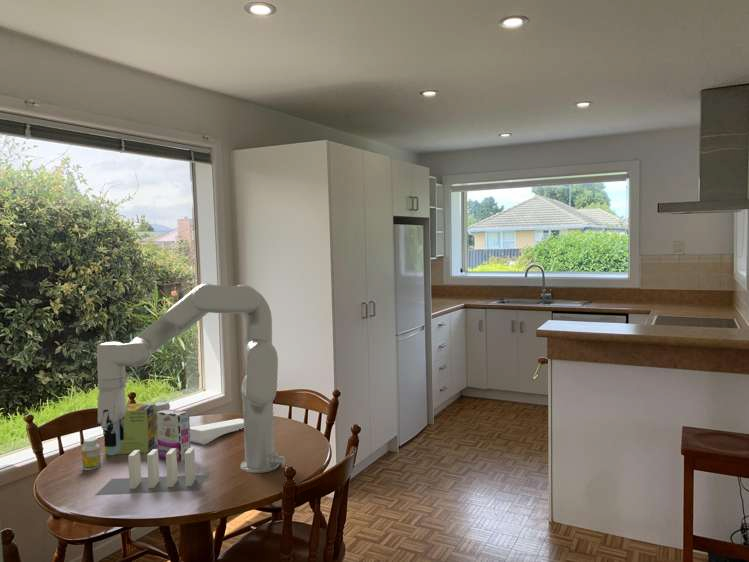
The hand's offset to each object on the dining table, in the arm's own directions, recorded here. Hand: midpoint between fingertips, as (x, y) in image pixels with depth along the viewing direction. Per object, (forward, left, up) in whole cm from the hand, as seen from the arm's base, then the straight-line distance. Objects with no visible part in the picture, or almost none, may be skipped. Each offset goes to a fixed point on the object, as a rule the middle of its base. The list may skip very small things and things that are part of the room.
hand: (114, 442), depth 171 cm
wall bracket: (-2, -54, -15) cm, 56 cm away
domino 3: (-16, -6, -13) cm, 21 cm away
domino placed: (0, 0, -3) cm, 3 cm away
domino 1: (-5, -2, -13) cm, 15 cm away
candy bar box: (-2, -26, -14) cm, 29 cm away
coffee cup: (+22, -49, -14) cm, 55 cm away
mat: (-11, -4, -14) cm, 18 cm away
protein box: (+20, -31, -14) cm, 39 cm away
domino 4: (-21, -8, -13) cm, 26 cm away
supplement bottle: (+20, -12, -14) cm, 27 cm away
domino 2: (-11, -4, -13) cm, 17 cm away
